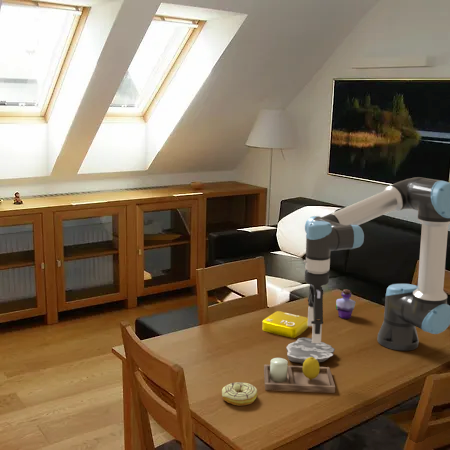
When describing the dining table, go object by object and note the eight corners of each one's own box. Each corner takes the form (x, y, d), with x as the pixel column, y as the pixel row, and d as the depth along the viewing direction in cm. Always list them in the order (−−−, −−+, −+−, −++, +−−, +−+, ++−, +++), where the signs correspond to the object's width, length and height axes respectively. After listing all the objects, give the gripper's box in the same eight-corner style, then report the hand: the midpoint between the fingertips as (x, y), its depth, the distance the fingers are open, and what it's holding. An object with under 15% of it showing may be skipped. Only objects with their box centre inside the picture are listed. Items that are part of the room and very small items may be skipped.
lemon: (318, 384, 186) (319, 361, 185) (301, 382, 188) (302, 359, 186) (319, 376, 192) (320, 354, 190) (302, 375, 193) (303, 352, 191)
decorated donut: (228, 388, 184) (228, 377, 184) (260, 394, 181) (261, 383, 180) (217, 403, 175) (217, 392, 174) (251, 410, 171) (251, 398, 171)
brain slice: (329, 372, 197) (329, 363, 197) (280, 363, 203) (281, 355, 202) (338, 350, 216) (338, 342, 215) (293, 342, 221) (293, 335, 220)
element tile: (309, 327, 237) (310, 316, 236) (294, 339, 224) (295, 328, 223) (276, 319, 244) (277, 309, 243) (260, 331, 232) (260, 319, 231)
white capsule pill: (286, 374, 193) (287, 358, 191) (287, 382, 187) (288, 365, 186) (269, 374, 193) (270, 357, 192) (270, 382, 187) (270, 364, 186)
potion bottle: (332, 313, 252) (333, 287, 250) (351, 313, 253) (353, 286, 251) (338, 320, 244) (339, 293, 241) (357, 320, 245) (359, 293, 242)
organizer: (328, 372, 196) (329, 367, 196) (334, 392, 183) (335, 387, 182) (264, 369, 197) (264, 364, 197) (265, 389, 183) (265, 384, 183)
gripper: (301, 259, 194) (299, 319, 199) (309, 282, 170) (306, 349, 174) (324, 259, 194) (321, 319, 198) (334, 283, 169) (331, 350, 174)
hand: (314, 333), depth 186 cm, fingers open, 13 cm apart
